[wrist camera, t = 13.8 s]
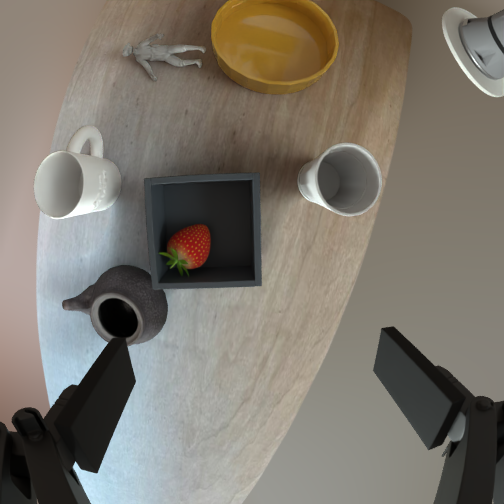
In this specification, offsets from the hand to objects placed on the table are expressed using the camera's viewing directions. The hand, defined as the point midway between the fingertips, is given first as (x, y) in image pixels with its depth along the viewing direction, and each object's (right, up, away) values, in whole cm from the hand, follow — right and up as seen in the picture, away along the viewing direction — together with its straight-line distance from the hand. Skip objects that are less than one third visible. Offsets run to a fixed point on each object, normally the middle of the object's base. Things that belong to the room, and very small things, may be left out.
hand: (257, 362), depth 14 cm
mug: (-23, +17, +25) cm, 38 cm away
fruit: (-6, +9, +26) cm, 29 cm away
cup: (+9, +16, +28) cm, 33 cm away
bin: (-7, +9, +28) cm, 30 cm away
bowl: (+3, +37, +22) cm, 43 cm away
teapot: (-21, -5, +30) cm, 37 cm away
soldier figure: (-13, +34, +22) cm, 43 cm away
